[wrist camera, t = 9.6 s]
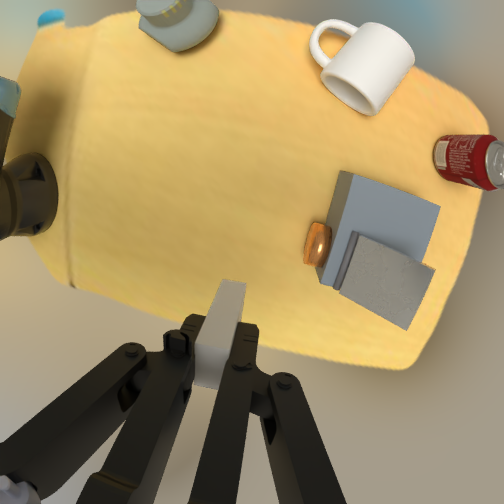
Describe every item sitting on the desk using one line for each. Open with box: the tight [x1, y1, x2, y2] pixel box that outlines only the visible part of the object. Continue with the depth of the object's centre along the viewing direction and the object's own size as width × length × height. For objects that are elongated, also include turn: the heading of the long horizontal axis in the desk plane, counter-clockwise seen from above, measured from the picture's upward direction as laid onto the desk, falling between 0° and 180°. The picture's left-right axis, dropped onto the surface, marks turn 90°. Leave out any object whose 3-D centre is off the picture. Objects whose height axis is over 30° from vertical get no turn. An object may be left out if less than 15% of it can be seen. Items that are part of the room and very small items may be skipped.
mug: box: [309, 19, 415, 116], centre depth 25 cm, size 12×10×8 cm
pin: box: [303, 222, 332, 268], centre depth 34 cm, size 16×5×5 cm, turn 77°
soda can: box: [434, 135, 504, 192], centre depth 25 cm, size 7×7×12 cm
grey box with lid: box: [315, 170, 441, 290], centre depth 32 cm, size 12×13×8 cm
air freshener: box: [136, 0, 219, 52], centre depth 24 cm, size 11×8×10 cm
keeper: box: [339, 235, 436, 331], centre depth 27 cm, size 9×7×1 cm
